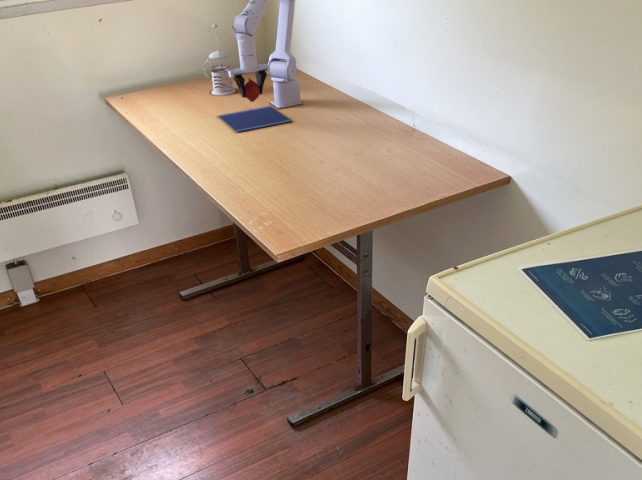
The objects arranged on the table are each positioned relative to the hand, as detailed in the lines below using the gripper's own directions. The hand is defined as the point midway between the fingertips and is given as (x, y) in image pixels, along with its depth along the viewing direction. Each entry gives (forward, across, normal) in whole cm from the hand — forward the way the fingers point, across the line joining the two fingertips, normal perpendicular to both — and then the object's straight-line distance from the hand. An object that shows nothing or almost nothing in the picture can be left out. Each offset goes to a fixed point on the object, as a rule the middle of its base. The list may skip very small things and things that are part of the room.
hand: (251, 95), depth 231 cm
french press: (+9, -3, -39) cm, 40 cm away
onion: (+2, 0, 0) cm, 2 cm away
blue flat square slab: (+8, 0, 0) cm, 9 cm away
